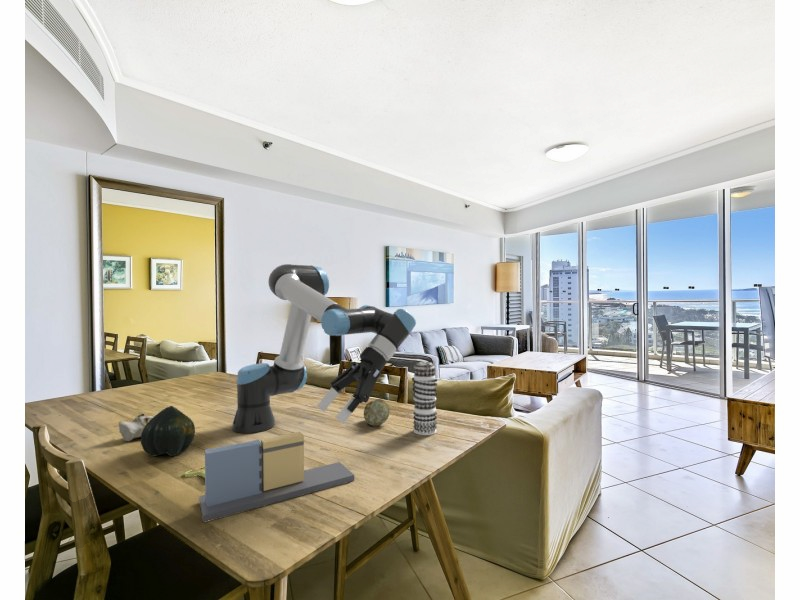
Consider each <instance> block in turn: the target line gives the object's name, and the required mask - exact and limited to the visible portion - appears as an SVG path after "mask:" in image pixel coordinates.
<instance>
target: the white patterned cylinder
mask: <svg viewBox="0 0 800 600" xmlns="http://www.w3.org/2000/svg"><path fill="white" fill-rule="evenodd" d="M413 369H414V370H413V372H414V374H413V377H412V378H411V380H412V382H413V383H411V384H412V391H413V393H412V397H413V401H414V408H413V415H414V416H413V419H414V420H413V433H414V434H416V435H420V436H431V435H435V434H436V433H437V432H438V431H437V429H438V428H437V426H438V425H437V424H438V421H437V417H438V416H437V407H436V401H437V397H436V396H437V391H438V389H437V388H436V386H438V383H437V381H438V378H436V366H434V365H433V362H431V361H419V362H416V363H415V365H414V366H413Z"/></svg>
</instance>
